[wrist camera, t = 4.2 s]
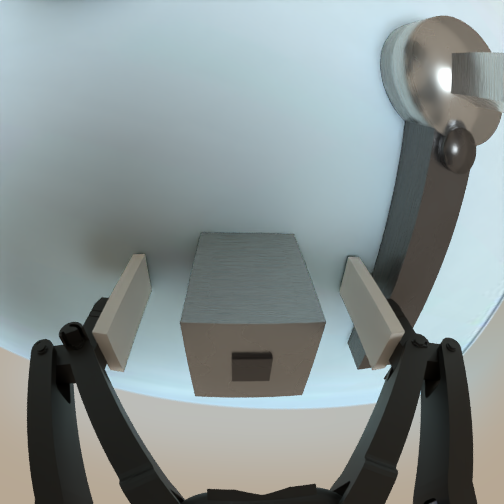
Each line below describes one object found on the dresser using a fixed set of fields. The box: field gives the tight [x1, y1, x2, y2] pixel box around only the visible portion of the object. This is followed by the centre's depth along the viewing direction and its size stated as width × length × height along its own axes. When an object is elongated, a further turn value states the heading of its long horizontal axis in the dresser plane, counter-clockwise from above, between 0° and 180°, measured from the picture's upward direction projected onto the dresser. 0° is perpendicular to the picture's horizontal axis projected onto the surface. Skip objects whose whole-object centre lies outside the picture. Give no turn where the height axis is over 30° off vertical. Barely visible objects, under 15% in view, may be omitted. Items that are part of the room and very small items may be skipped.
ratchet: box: [348, 16, 504, 369], centre depth 12 cm, size 7×24×7 cm, turn 178°
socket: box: [180, 233, 326, 397], centre depth 14 cm, size 5×5×7 cm
